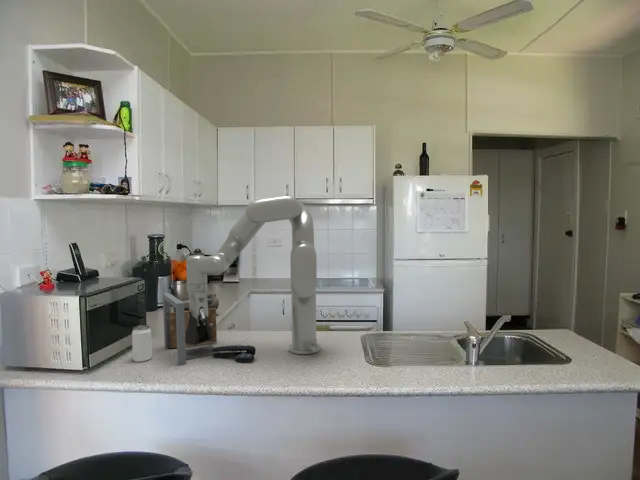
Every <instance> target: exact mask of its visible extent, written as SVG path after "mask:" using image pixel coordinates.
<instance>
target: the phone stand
mask: <svg viewBox="0 0 640 480" xmlns="http://www.w3.org/2000/svg"><path fill="white" fill-rule="evenodd" d="M199 317H201V316H198V318H199ZM200 320H201V319H199V321H200ZM196 326H197V320H196V318H194V317H193V316H192V313H191V311H190V319H189V323H188V328H187V332H186V336H185V343H187V344H192V345H191V346H197V345H201V344H200V343H203V342H206V341H209V340H212V339H213V337H212V334H211V331H210V328H209V325H208V322H207V319H206V317H205V336H199V328H198V330H197V331H196Z"/></svg>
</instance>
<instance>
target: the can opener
mask: <svg viewBox="0 0 640 480" xmlns="http://www.w3.org/2000/svg"><path fill="white" fill-rule="evenodd" d="M256 350H257V349H256V346H254V345H249V344H248V345H243V344H242V345H241V344H239V343H238V344H236V345H224V346H223V345H222V346H216V347H214V348H213V349H212V351H213V352H220V353H215V354H214V355H212V357H213V358H216V359H217V358H218V359H226V358H234V361H235V362H237V363H240V364H241V363H242V364H243V363H244V364H246V363H250V362H251V361H252V360H254V359H255V356H256Z"/></svg>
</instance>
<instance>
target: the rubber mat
mask: <svg viewBox="0 0 640 480" xmlns="http://www.w3.org/2000/svg"><path fill="white" fill-rule="evenodd" d="M213 348H215V347H214V346H213V345H212V344H211V345H205V346H200V347H195V348H188V349H185V350H186V361H189V360H190V361H191V360H194V359H199V358H205V357H210V356H213V355H214V354H215V353H221V351H219V352H213V351H212V349H213Z"/></svg>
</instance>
